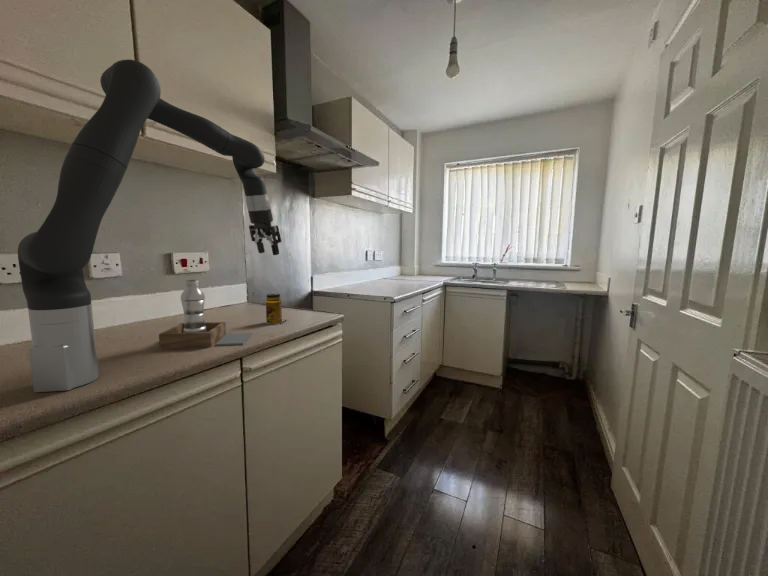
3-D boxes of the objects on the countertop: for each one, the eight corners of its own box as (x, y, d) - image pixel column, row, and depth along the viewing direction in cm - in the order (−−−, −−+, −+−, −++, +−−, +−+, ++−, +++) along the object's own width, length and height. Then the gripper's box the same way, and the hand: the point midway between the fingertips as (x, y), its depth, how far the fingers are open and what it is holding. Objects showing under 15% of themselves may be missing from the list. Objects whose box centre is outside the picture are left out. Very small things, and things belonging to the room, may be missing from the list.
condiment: (262, 324, 120) (261, 295, 118) (271, 319, 128) (270, 292, 127) (280, 325, 119) (279, 295, 118) (287, 320, 128) (287, 292, 126)
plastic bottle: (212, 339, 98) (208, 280, 95) (190, 345, 92) (186, 281, 89) (200, 337, 101) (197, 278, 98) (179, 342, 95) (174, 280, 92)
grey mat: (243, 344, 94) (243, 342, 94) (215, 345, 92) (215, 343, 92) (252, 334, 105) (252, 332, 105) (228, 335, 104) (228, 333, 104)
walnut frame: (211, 346, 91) (210, 332, 90) (159, 348, 88) (158, 334, 88) (226, 334, 104) (225, 322, 104) (182, 335, 102) (181, 323, 101)
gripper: (237, 210, 104) (248, 254, 110) (262, 210, 96) (272, 258, 102) (256, 207, 110) (265, 250, 115) (281, 207, 102) (289, 252, 108)
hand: (268, 253), depth 109 cm, fingers open, 8 cm apart
